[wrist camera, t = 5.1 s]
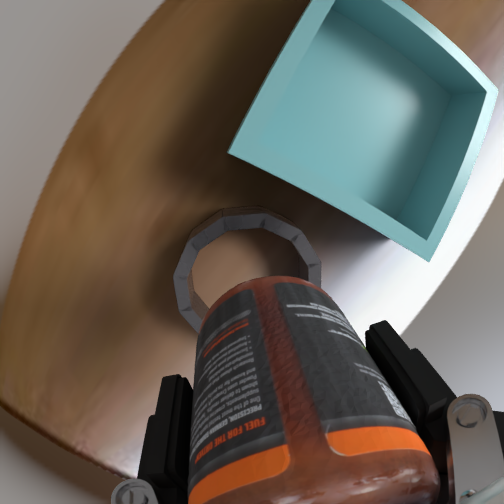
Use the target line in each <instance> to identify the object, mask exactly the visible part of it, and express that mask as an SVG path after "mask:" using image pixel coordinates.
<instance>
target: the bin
mask: <svg viewBox="0 0 504 504" xmlns="http://www.w3.org/2000/svg"><path fill="white" fill-rule="evenodd" d="M498 91H499V90H498V89H497V88H496V87H495V86H494V84H493V83H492V82H491V81H490V80H489V79H488V78H487V77H486V75H485V74H484V73H483V72H482V71H481V70H480V69H479V68H478V67H477V66H476V65H475V64H474V63H473V62H472V61H471V60H470V59H469V58H468V57H467V56H466V55H465V54H464V53H463V52H462V51H461V50H460V49H459V48H458V47H457V46H456V45H455V44H454V43H453V42H452V41H450V40H449V39H448V38H447V37H446V36H445V35H444V34H443V33H442V32H440V31H439V30H438V29H437V28H436V27H435V26H433V25H432V24H431V23H430V22H429V21H427V20H426V19H425V18H424V17H422V16H421V15H420V14H419V13H417V12H416V11H415V10H413V9H412V8H411V7H409V6H408V5H407V4H405V3H404V2H403V1H401V0H310V2H309V3H308V5H307V7H306V8H305V10H304V12H303V13H302V15H301V17H300V18H299V20H298V21H297V23H296V25H295V27H294V28H293V30H292V32H291V33H290V35H289V37H288V38H287V40H286V42H285V44H284V45H283V47H282V49H281V51H280V52H279V54H278V56H277V58H276V59H275V61H274V63H273V65H272V66H271V68H270V70H269V72H268V74H267V76H266V77H265V79H264V81H263V83H262V85H261V87H260V88H259V90H258V92H257V94H256V96H255V98H254V100H253V101H252V103H251V105H250V107H249V109H248V111H247V113H246V115H245V117H244V119H243V121H242V123H241V124H240V126H239V128H238V130H237V132H236V134H235V136H234V138H233V140H232V142H231V144H230V146H229V148H228V150H227V152H226V153H228V154H230V155H233V156H235V157H237V158H239V159H241V160H243V161H245V162H247V163H249V164H252V165H254V166H256V167H258V168H260V169H262V170H264V171H266V172H268V173H270V174H272V175H274V176H276V177H278V178H280V179H282V180H284V181H286V182H288V183H290V184H292V185H294V186H296V187H298V188H300V189H301V190H303V191H305V192H307V193H309V194H311V195H313V196H315V197H317V198H319V199H320V200H322V201H324V202H326V203H328V204H330V205H332V206H333V207H335V208H337V209H339V210H341V211H342V212H344V213H346V214H348V215H350V216H351V217H353V218H355V219H357V220H358V221H360V222H362V223H364V224H365V225H367V226H369V227H371V228H372V229H374V230H376V231H378V232H379V233H381V234H383V235H384V236H386V237H388V238H389V239H391V240H393V241H394V242H396V243H398V244H400V245H401V246H403V247H405V248H406V249H408V250H410V251H411V252H413V253H415V254H416V255H418V256H420V257H421V258H423V259H424V260H426V261H428V262H430V260H431V258H432V256H433V254H434V252H435V250H436V248H437V247H438V245H439V243H440V241H441V239H442V237H443V235H444V233H445V231H446V229H447V227H448V225H449V222H450V220H451V218H452V216H453V214H454V212H455V210H456V207H457V205H458V203H459V201H460V199H461V196H462V194H463V192H464V189H465V187H466V185H467V182H468V180H469V177H470V175H471V172H472V170H473V167H474V165H475V162H476V159H477V157H478V154H479V151H480V149H481V146H482V143H483V140H484V137H485V134H486V131H487V128H488V125H489V122H490V119H491V115H492V112H493V109H494V105H495V102H496V98H497V95H498Z"/></svg>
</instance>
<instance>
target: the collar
mask: <svg viewBox="0 0 504 504" xmlns="http://www.w3.org/2000/svg"><path fill="white" fill-rule="evenodd" d="M251 228H264V229H266V230H269V231H271V232H273V233H275V234H277V235H279V236H281V237H284V238H286V239H288V240H290V241H291V243H292V244H293V246H294V247H295V249H296V250H297V252H298V253H299V278H300V279H303V280H305V281H308V282H311V283H313V284H314V285H316V286H317V287H319V288H321V261H320V259H319V258H318V256H317V255H316V253H315V251H314V250H313V248H312V246H311V245H310V243H309V242H308V240H307V238H306V237H305V235H304V234H303V232H302V231H301V230H300V229H299V228H298V227H297V226H296V225H295V224H294V223H293V222H292V221H291V220H289V219H287V218H284V217H282V216H280V215H278V214H276V213H274V212H272V211H270V210H268V209H266V208H264V207H262V206H249V207H237V208H226V209H223V210H222V209H221V210H220V211H218V212H217V213H215V214H214V215H213V216H211V217H210V218H208V219H207V220H205V221H204V222H203V223H201V224H200V225H198V226H197V227H196V228H194V229H193V230H192V231H191V233H190V235H189V238H188V240H187V242H186V245H185V247H184V249H183V251H182V254H181V256H180V258H179V261H178V263H177V266H176V269H175V272H174V275H173V280H174V286H175V292H176V298H177V303H178V309H179V313H180V314H181V315H182V316H183V317H184V318H185V319H186V321H187V322H188V323H189V324H190V325H191V326H192V327H193V328H194V329H195V331H196V332H197V333H198V334H199V331H200V327H201V324H202V321H203V319H204V317H205V315H206V314H207V312H208V310H209V308H208V307H207V306H206V305H205V303H204V302H203V301H202V300H201V299H200V297H199V296H198V295H197V294H196V292H195V291H194V287H193V280H192V273H191V268H192V266H193V264H194V261H195V259H196V257H197V255H198V252H199V250H200V249H202V248H203V247H205V246H206V245H207V244H209V243H210V242H212V241H213V240H215V239H216V238H218V237H219V236H220V235H222V234H223V233H225V232H226V231H229V230H240V229H251Z"/></svg>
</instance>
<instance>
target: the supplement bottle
mask: <svg viewBox="0 0 504 504" xmlns="http://www.w3.org/2000/svg"><path fill="white" fill-rule="evenodd" d="M190 437H191V439H190V455H189V476H188V504H435V503H436V501H437V497H438V494H439V491H440V475H439V472H438V469H437V468H436V465H435V463H434V460H433V458H432V456H431V455H430V453H429V451H428V449H427V448H426V446H425V444H424V442H423V441H422V439H421V438H420V437H419V435H418V433H417V430H416V427H415V426H414V425H413V423H412V421H411V419H410V417H409V416H408V414H407V412H406V411H405V409H404V408H403V406H402V405H401V403H400V401H399V400H398V398H397V397H396V395H395V393H394V391H393V390H392V388H391V387H390V385H389V384H388V382H387V380H386V379H385V377H384V376H383V374H382V372H381V371H380V369H379V368H378V366H377V365H376V363H375V361H374V360H373V358H372V357H371V355H370V354H369V352H368V351H367V349H366V348H365V346H364V344H363V343H362V341H361V340H360V338H359V337H358V335H357V333H356V332H355V330H354V329H353V328H352V326H351V325H350V323H349V322H348V320H347V319H346V317H345V315H344V314H343V312H342V311H341V310H340V308H339V307H338V305H337V304H336V303H335V302H334V301H333V300H332V298H331V297H330V296H329V295H328V294H327V293H326V292H325V291H324V290H322V289H321V288H319V287H317V286H316V285H314V284H313V283H311V282H308V281H305V280H303V279H300V278H296V277H289V276H268V277H261V278H256V279H252V280H249V281H247V282H243V283H240V284H238V285H237V286H235V287H234V288H232V289H230V290H229V291H227V292H226V293H225V294H223V295H222V296H221V297H220V298H219V299H218V300H217V301H216V302H215V303H214V304H213V305H212V306H211V308H210V309H209V310H208V312H207V314H206V315H205V317H204V319H203V321H202V324H201V327H200V331H199V336H198V340H197V347H196V361H195V374H194V386H193V402H192V415H191V429H190Z"/></svg>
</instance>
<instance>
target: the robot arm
mask: <svg viewBox="0 0 504 504" xmlns="http://www.w3.org/2000/svg"><path fill="white" fill-rule="evenodd" d="M365 340H366V349H367V351H368V352H369V354H370V355H371V357H372V358H373V360H374V361H375V363H376V365H377V366H378V368H379V369H380V371H381V372H382V374H383V376H384V377H385V379H386V380H387V382H388V384H389V385H390V387H391V388H392V390H393V391H394V393H395V395H396V397H397V398H398V400H399V401H400V403H401V405H402V406H403V408H404V409H405V411H406V412H407V414H408V416H409V417H410V419H411V421H412V423H413V425H414V426H415V427H416V430H417V433H418V435H419V437H420V438H421V439H422V441H423V442H424V444H425V446H426V448H427V449H428V451H429V453H430V455H431V456H432V458H433V460H434V463H435V465H436V468H437V469H438V472H439V475H440V491H439V494H438V497H437V501H436V503H435V504H504V412H499V411H492V408H491V406H490V404H489V402H488V401H487V400H486V399H485V398H483V397H481V396H480V395H476V394H465V395H462V396H459V397H458V398H457V397H456V395H455V394H454V393H453V392H452V390H451V389H450V388H449V387H448V385H447V384H446V383H445V381H444V380H443V379H442V378H441V376H440V375H439V374H438V373H437V371H436V370H435V369H434V368H433V367H432V365H431V364H430V363H429V362H428V360H427V359H426V358H425V357H424V356H423V354H422V353H421V352H420V351H419V350H418V349H416V348H414V349H411V350H410V349H409V348H408V346H407V345H406V344H405V342H404V341H403V340H402V339H401V337H400V336H399V335H398V334H397V333H396V331H395V330H394V329H393V328H392V326H391V325H390V324H389V323H388V322H387V321H386V320H384V321H381V322H378V323H375V324H372V325H370V327H369V330H367V331H366V332H365ZM192 402H193V389H192V387H191V385H190V383H189V381H188V379H187V378H186V377H184V378H182V377H181V375H179V374H177V375H171V376H165V377H163V378H162V382H161V387H160V392H159V397H158V402H157V407H156V412H155V415H151V416H150V417H149V419H148V423H147V428H146V433H145V438H144V443H143V449H142V454H141V459H140V465H139V470H138V476H137V479H129V480H126V481H124V482H122V483H120V484H119V485H118V486H117V487H116V488H115V490H114V491H113V493H112V496H111V504H188V476H189V455H190V439H191V437H190V429H191V415H192Z"/></svg>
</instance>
